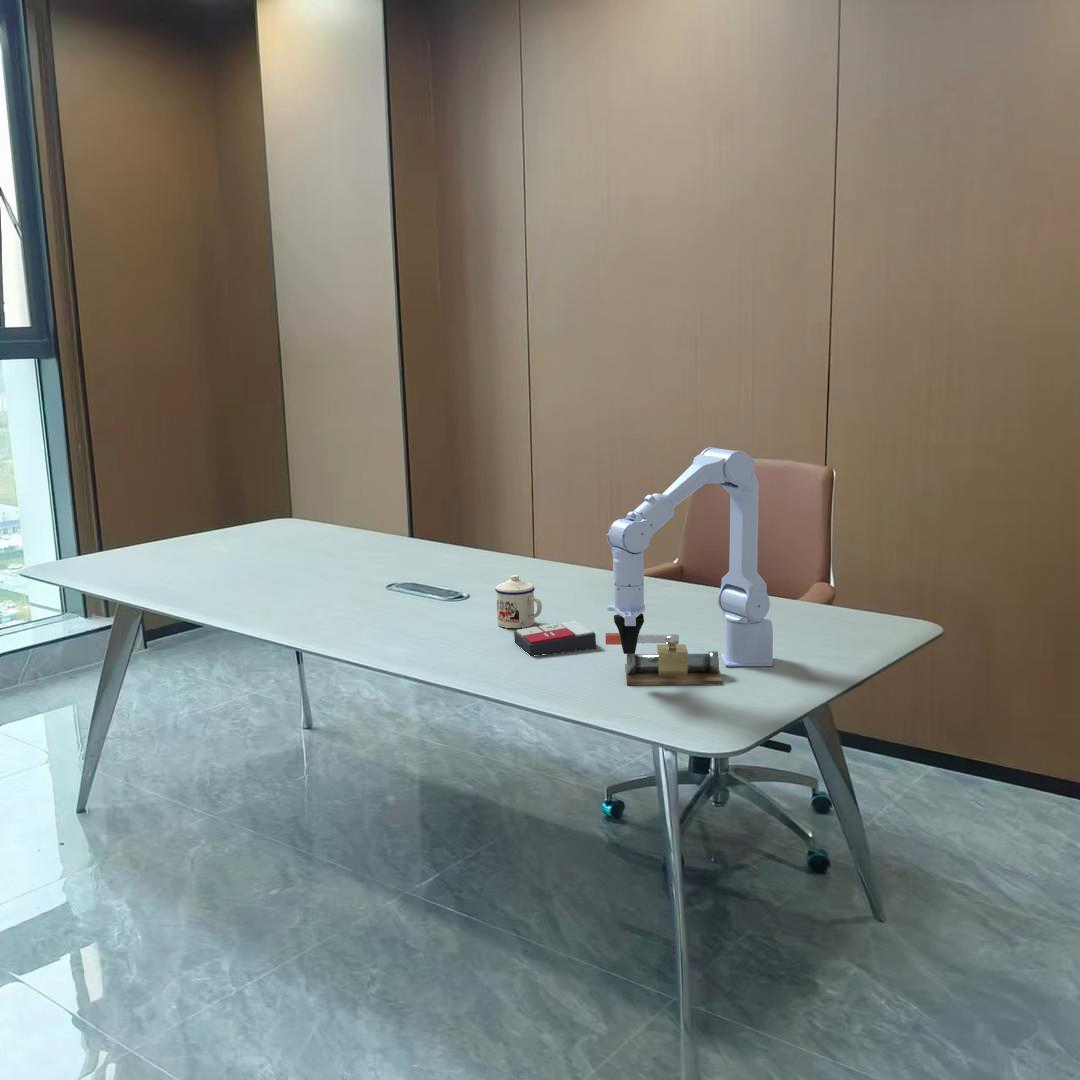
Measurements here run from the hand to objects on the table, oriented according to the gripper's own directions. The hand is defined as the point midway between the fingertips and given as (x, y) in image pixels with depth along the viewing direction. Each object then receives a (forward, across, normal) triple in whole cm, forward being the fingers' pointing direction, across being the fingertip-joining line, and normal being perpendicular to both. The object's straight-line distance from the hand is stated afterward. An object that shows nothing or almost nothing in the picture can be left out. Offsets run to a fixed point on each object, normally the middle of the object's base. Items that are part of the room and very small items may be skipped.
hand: (629, 652), depth 203 cm
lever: (0, -6, +3) cm, 6 cm away
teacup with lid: (+7, -43, -24) cm, 50 cm away
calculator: (+7, -27, -15) cm, 31 cm away
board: (+6, -5, +8) cm, 12 cm away
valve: (+6, -5, +8) cm, 12 cm away
